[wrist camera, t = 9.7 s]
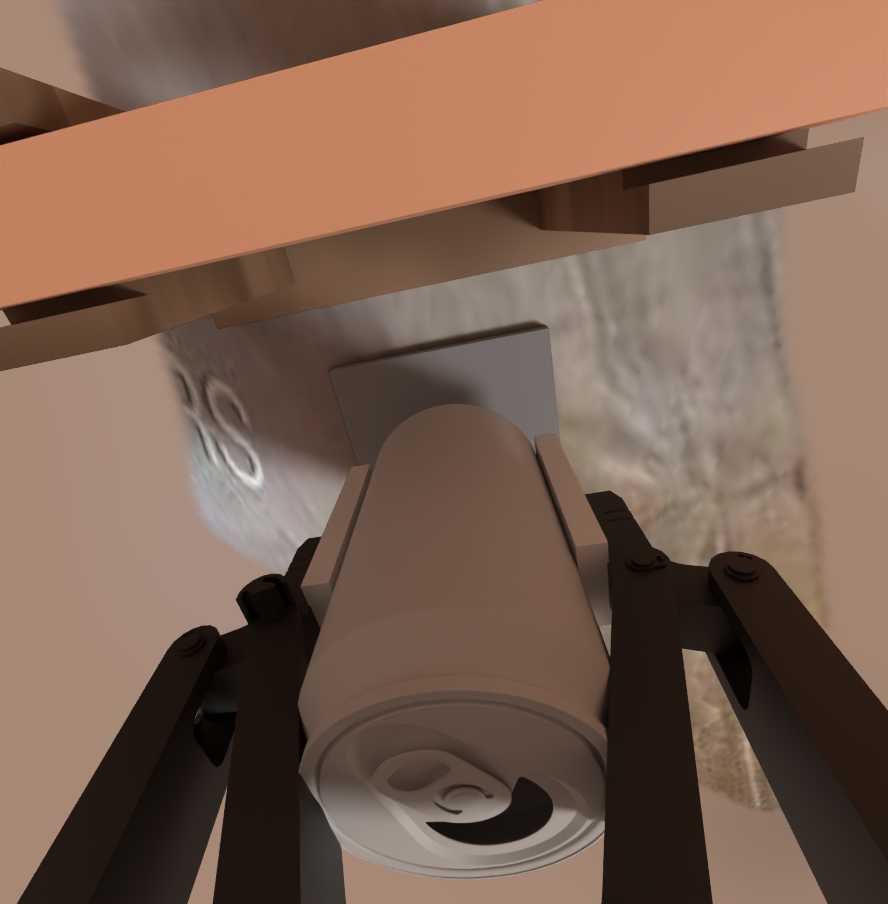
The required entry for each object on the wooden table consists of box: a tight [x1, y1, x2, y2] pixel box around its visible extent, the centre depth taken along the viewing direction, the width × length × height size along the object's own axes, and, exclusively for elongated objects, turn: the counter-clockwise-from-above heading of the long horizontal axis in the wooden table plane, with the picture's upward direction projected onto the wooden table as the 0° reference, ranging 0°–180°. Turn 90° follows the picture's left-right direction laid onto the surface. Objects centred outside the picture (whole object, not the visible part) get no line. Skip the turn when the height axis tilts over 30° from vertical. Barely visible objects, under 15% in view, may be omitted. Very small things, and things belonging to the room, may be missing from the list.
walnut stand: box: [0, 68, 864, 371], centre depth 12 cm, size 6×16×11 cm, turn 101°
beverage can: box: [298, 404, 610, 880], centre depth 13 cm, size 6×6×12 cm
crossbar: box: [0, 0, 888, 310], centre depth 7 cm, size 2×16×2 cm, turn 101°
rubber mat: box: [328, 326, 560, 472], centre depth 20 cm, size 9×9×1 cm
